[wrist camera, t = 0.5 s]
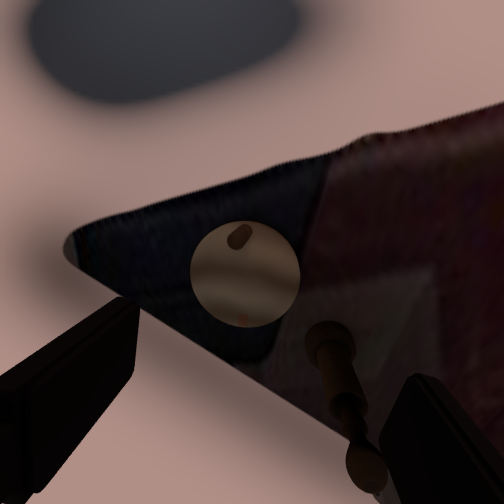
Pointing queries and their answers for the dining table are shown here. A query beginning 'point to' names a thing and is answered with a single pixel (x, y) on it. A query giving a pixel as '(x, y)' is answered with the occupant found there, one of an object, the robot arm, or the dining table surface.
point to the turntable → (245, 274)
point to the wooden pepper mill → (346, 402)
